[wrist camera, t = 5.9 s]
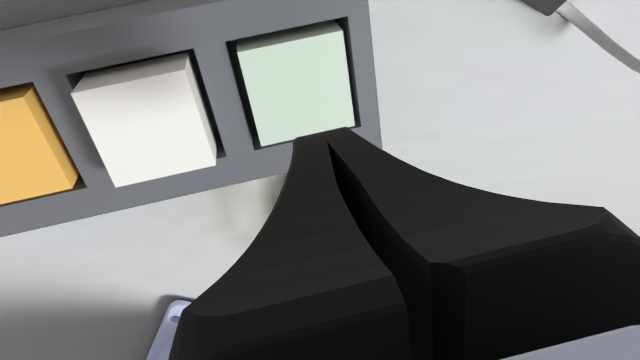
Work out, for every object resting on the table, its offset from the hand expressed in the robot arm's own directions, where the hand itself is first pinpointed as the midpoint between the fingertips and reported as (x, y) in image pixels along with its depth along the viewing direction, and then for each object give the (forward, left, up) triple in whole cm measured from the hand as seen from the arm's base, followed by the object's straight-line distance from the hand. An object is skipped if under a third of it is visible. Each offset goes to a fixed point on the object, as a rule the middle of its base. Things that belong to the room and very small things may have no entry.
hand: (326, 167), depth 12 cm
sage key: (0, 0, -7) cm, 7 cm away
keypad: (-3, +4, -8) cm, 9 cm away
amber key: (-6, +8, -7) cm, 12 cm away
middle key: (-3, +4, -6) cm, 8 cm away
